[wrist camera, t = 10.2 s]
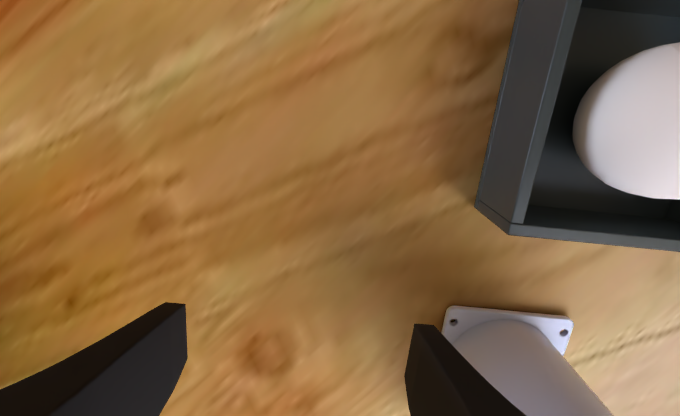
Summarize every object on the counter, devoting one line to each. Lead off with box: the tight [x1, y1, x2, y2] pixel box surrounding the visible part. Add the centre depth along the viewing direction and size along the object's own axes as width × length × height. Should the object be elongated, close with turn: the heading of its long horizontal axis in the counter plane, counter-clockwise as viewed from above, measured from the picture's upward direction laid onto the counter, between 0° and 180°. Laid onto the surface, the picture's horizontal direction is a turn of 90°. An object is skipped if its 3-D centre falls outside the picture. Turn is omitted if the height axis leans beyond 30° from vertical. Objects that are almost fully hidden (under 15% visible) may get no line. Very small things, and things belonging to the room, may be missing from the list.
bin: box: [474, 0, 680, 252], centre depth 17 cm, size 11×11×4 cm
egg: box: [572, 42, 680, 199], centre depth 15 cm, size 6×6×8 cm
